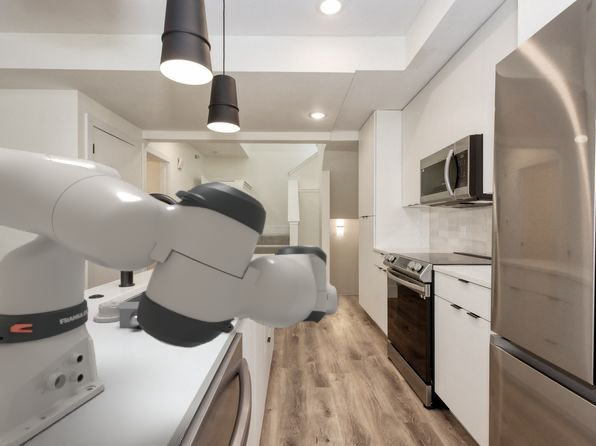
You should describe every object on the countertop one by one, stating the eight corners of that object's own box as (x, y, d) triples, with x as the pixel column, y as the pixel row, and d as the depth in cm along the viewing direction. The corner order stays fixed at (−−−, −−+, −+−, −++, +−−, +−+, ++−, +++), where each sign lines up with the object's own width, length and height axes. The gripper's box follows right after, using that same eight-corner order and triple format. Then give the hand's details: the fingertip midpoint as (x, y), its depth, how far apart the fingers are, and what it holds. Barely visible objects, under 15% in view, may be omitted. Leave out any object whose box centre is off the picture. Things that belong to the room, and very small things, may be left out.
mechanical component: (85, 323, 89) (121, 323, 89) (85, 307, 89) (120, 307, 88) (107, 313, 99) (139, 313, 98) (107, 298, 99) (139, 298, 98)
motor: (156, 331, 81) (156, 305, 81) (113, 331, 81) (112, 306, 81) (177, 314, 95) (177, 293, 95) (140, 315, 95) (140, 293, 95)
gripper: (272, 324, 75) (213, 325, 75) (278, 302, 96) (231, 303, 96) (272, 298, 75) (213, 298, 75) (278, 281, 96) (231, 281, 96)
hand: (223, 300), depth 86 cm, fingers open, 8 cm apart
